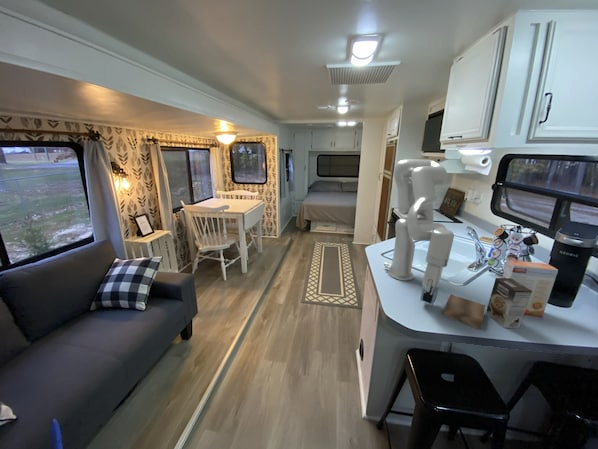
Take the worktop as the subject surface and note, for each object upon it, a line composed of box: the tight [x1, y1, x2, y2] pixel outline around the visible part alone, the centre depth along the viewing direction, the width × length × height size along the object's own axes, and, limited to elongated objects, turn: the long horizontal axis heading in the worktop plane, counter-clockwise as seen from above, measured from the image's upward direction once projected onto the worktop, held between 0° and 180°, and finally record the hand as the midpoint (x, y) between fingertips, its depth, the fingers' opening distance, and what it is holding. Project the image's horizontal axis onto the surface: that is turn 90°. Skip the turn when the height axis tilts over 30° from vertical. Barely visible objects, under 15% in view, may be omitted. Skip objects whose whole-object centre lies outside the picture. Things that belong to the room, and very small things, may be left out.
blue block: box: [419, 285, 439, 306], centre depth 99 cm, size 5×5×6 cm
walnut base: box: [443, 293, 486, 330], centre depth 94 cm, size 12×12×4 cm
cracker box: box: [501, 259, 559, 317], centre depth 96 cm, size 14×6×21 cm, turn 73°
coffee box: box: [485, 277, 532, 329], centre depth 90 cm, size 9×6×16 cm
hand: (428, 297), depth 99 cm, fingers closed on blue block, 5 cm apart
